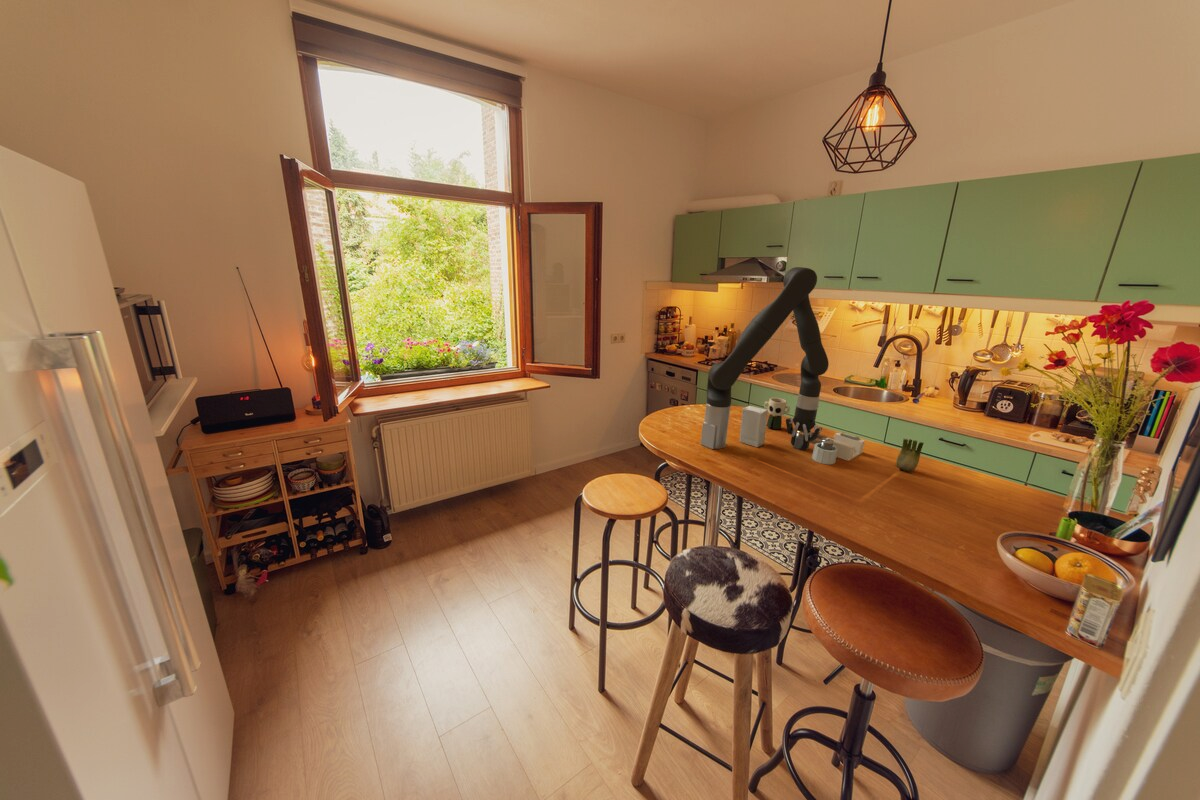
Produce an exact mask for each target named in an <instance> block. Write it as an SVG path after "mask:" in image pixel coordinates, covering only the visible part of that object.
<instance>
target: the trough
mask: <svg viewBox="0 0 1200 800" xmlns="http://www.w3.org/2000/svg"><path fill="white" fill-rule="evenodd" d="M813 433H814V431H811V436H812V435H813ZM822 438H831V439H833V438H832V437H829V436H825V435H823V434H820V433H819V435H818V437H817V438H816V440H813V441H810V443H809V444H814V445H815V444H816V443H821V440H822Z"/></svg>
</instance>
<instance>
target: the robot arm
mask: <svg viewBox="0 0 1200 800" xmlns="http://www.w3.org/2000/svg"><path fill="white" fill-rule="evenodd" d="M817 282H818V275H817V273H816V271H815V270H813V269H812V268H809V267H802V266H797V267H796V266H795V267H792V268H790V269H788V271H787V272H786V273H785V274H784V276H783V281H782V283H783V289H782V290H781V292H780V293H779V294H778V295H777V296H776V298H775V299H773V301H771V303H769V304H768V305H767V306H766V307H764V308H763V309H761V311H759V312H758V313H757V314H756V315H755V316H754V317H753V318H752V319H751V320H750V322H749V323H748V324H747V326H746V327H745V328H744V330H743V331H742V332H741V334H740V336H739V338H738V340H737V342H736V343H735V346H734V348H733V350H732V351H731V353H730V354H729V355H728V356H727V357H726V359H725V360H724V361H718V362H715V363H714V364H712V365H711V367H710V368H709V371H708V375H707V376H708V377H707V384H706V403H705V404H706V405H705V410H704V422H703V423H702V428H701V438H700V445H701V446H704V447H706V448H709V449H711V450H716V449H717V450H718V449H724V448H725V447H726V445H727V437H728V430H729V429H728V428H729V421H730V413H731V404H732V387H733V386H734V384H735V383H736V381H737V380H738V378H739V377H740V375H741V374H742V372H743V371H744V370H745V369H746V367H747V365H749V363H750V362H751V361H752V359H753V358H755V357H756V355H757V354H758V353H759V352H760V351H761V350H762V348H763V347H764V346H765V345H766V344H767V343H768V341H769V340H771V338H772V337H773V335H774V334H775V333H776V332H777V331H778V329H779V328H780V327H781V325H782V324H783V323H784V322H785V321H786V319H787V318H788V317H789V316H790V314H791V313H792V312H793V315H794V319H795V325H796V329H797V334H798V341H799V345H800V347H801V348H800V349H801V350H802V351H804V354H805V355H804V356H803V358H802V360H801V363H800V380H801V381H800V385H799V392H798V396H797V399H796V404H795V409H794V417H793V418H791V417H788V418H786V419H785V424H786V429H787V430H786V432H787V434H788V435H791V439H790V444H791V446H793V447H794V442H795V436H796V432H797V430H801V431H803V432H804V435H805V441H804V445H803V449H804V450H805V451H806V450H807V449H809V447H810V444H811V443H810V441H813V440H816V438H817V437H818V435H819V434H820V433H821V432H822V430H823V427H821V426H818V425H817V424H816V418H817V413H818V410H819V403H820V393H821V389H822V383H821V381H820V379H819V376H822V375H825V373H827V371H828V368H829V358H828V355H827V352H826V351H825V348H824V345H823V342H822V338H821V337H822V336H821V330H820V326H819V324H818V320H817V318H816V314H815V313H814V311H813V307H812V304H811V301H810V294H811V293H812V292H813V291H814V289H815V287H816V286H817ZM793 425H794V427H793ZM812 429H813V432H814V433H813V435H812V436H811V432H812ZM804 450H803V451H804Z"/></svg>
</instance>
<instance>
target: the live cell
mask: <svg viewBox="0 0 1200 800" xmlns="http://www.w3.org/2000/svg"><path fill="white" fill-rule="evenodd" d="M804 441H805V435H804V432H803V431H801V430H797V432H796V436H795V442H794V446H793V448H794V449H795V450H799V451H804V449H803V445H804Z"/></svg>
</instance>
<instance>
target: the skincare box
mask: <svg viewBox="0 0 1200 800" xmlns="http://www.w3.org/2000/svg"><path fill="white" fill-rule="evenodd" d="M767 421H768V409H765V408H762V407H757V406H753V405H748V406H746V407H743V408H742V414H741V423H740V432H739V433H740V434H739V443H743V444H745V445H749V446H751V447H755V448H759V447H761V446H763V445H764V444H765V439H766V431H767V430H766V429H767V426H766V425H767Z"/></svg>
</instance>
